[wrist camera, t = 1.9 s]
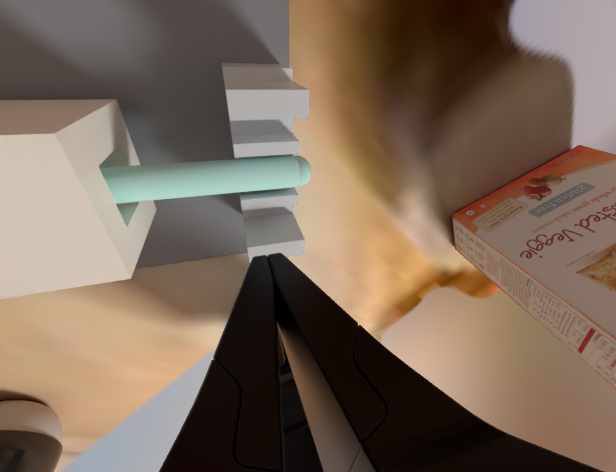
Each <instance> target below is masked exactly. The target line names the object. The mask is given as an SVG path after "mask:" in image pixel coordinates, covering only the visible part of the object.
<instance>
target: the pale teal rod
mask: <svg viewBox="0 0 616 472" xmlns="http://www.w3.org/2000/svg"><path fill="white" fill-rule="evenodd" d="M99 169H100V171H101V173H102V175H103V177H104V179H105V181H106V184H107V186H108V188H109V190H110V192H111V194H112V197H113V199H114V201H115V203H116V204H117V203H128V202H139V201H150V200H161V199H172V198H183V197H194V196H205V195H215V194H226V193H237V192H248V191H259V190H270V189H281V188H292V187H300V186H303V185H304V184H306V183H307V182H308V180H309V179H310V176H311V166H310V164H309V162H308V161H307V160H306V159H305V158H303V157H301V156H281V157H264V158H248V159H232V160H216V161H200V162H184V163H168V164H151V165H135V166H119V167H103V168H99Z"/></svg>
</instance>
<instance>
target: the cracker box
mask: <svg viewBox="0 0 616 472" xmlns="http://www.w3.org/2000/svg"><path fill="white" fill-rule="evenodd" d="M452 224H453V234H454V243H455V249H456V250H457V251H458V252H459V253H460V254H461V255H463V256H464V257H465V258H466V259H467V260H468V261H469V262H471V263H472V264H473V265H474V266H475V267H476V268H477V269H478V270H480V271H481V272H482V273H483V274H484V275H485V276H486V277H488V278H489V279H490V280H491V281H492V282H493V283H494V284H496V285H497V286H498V287H499V288H500V289H501V290H502V291H504V292H505V293H506V294H507V295H508V296H509V297H510V298H512V299H513V300H514V301H515V302H516V303H517V304H518V305H520V306H521V307H522V308H523V309H524V310H525V311H526V312H528V313H529V314H530V315H531V316H532V317H533V318H535V319H536V320H537V321H538V322H539V323H540V324H541V325H543V326H544V327H545V328H546V329H547V330H549V331H550V332H551V333H552V334H553V335H554V336H555V337H556V338H558V339H559V340H560V341H561V342H562V343H563V344H564V345H566V346H567V347H568V348H569V349H570V350H571V351H573V352H574V353H575V354H576V355H577V356H578V357H579V358H580V359H582V360H583V361H584V362H585V363H586V364H588V365H589V366H590V367H591V368H592V369H593V370H594V371H596V372H597V373H598V374H599V375H600V376H601V377H602V378H604V379H605V380H606V381H607V382H608V383H609V384H611V385H612V386H613V387H614V388H615V389H616V155H614V154H611V153H607V152H603V151H600V150H596V149H592V148H589V147H585V146H582V145H578V146H576V147H575V148H573V149H571V150H570V151H568V152H566V153H564V154H562V155H560V156H559V157H557V158H555V159H553V160H551V161H549V162H548V163H546V164H544V165H542V166H540V167H538V168H537V169H535V170H533V171H531V172H529V173H527V174H526V175H524V176H522V177H520V178H518V179H516V180H515V181H513V182H511V183H509V184H507V185H505V186H504V187H502V188H500V189H498V190H496V191H494V192H493V193H491V194H489V195H487V196H485V197H483V198H482V199H480V200H478V201H476V202H474V203H472V204H470V205H469V206H467V207H465V208H463V209H461V210H459V211H458V212H456V213H454V214H452Z"/></svg>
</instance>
